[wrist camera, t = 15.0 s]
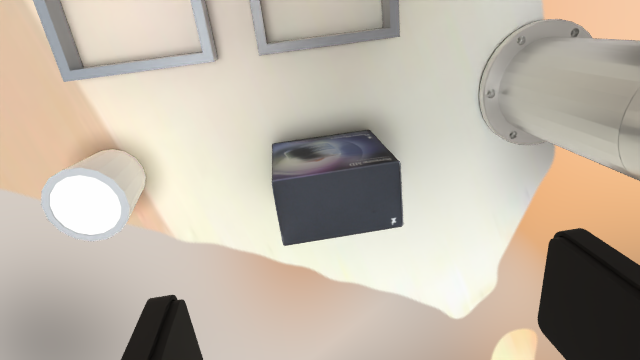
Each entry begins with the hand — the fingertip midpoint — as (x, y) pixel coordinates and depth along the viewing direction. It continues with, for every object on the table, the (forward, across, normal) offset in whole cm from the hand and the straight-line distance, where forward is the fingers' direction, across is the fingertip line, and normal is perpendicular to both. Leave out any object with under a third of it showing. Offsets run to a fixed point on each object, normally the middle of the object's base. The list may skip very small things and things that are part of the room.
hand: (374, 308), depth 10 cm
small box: (+31, -2, +7) cm, 31 cm away
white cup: (+30, +19, +5) cm, 36 cm away
